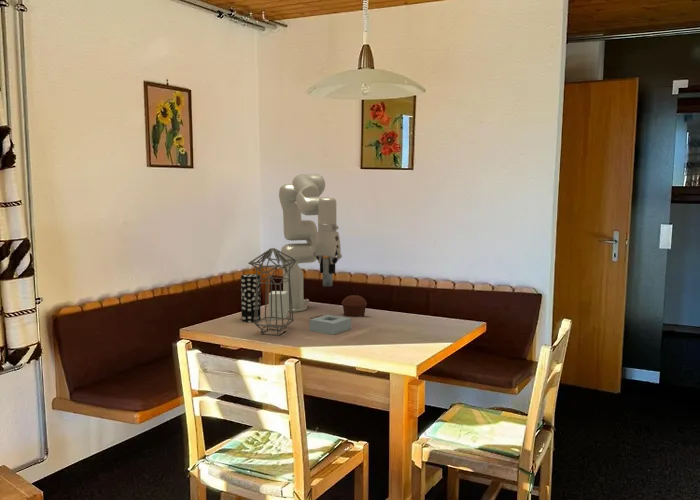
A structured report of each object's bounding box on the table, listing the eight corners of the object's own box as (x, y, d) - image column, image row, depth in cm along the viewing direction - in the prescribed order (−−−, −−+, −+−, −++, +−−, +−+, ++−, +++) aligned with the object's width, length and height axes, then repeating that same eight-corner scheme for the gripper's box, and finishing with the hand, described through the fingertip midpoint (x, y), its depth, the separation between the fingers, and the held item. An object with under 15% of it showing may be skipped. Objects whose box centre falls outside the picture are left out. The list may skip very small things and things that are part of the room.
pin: (326, 284, 268) (326, 250, 267) (334, 285, 266) (334, 251, 264) (320, 285, 265) (320, 251, 263) (328, 286, 262) (328, 252, 261)
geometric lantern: (299, 330, 268) (298, 246, 263) (282, 340, 253) (281, 251, 248) (264, 326, 273) (264, 244, 268) (246, 336, 259) (245, 249, 254)
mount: (322, 323, 281) (322, 313, 281) (337, 325, 277) (337, 316, 276) (308, 327, 273) (308, 318, 273) (323, 329, 269) (323, 320, 268)
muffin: (368, 315, 297) (368, 293, 296) (366, 320, 286) (366, 298, 285) (342, 314, 298) (342, 293, 297) (339, 320, 288) (339, 297, 286)
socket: (327, 328, 271) (327, 314, 270) (351, 332, 264) (351, 318, 264) (309, 334, 261) (309, 319, 261) (333, 338, 254) (333, 323, 254)
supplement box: (288, 318, 290) (288, 290, 288) (285, 322, 282) (285, 293, 281) (272, 318, 291) (272, 290, 289) (268, 322, 283) (268, 293, 282)
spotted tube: (259, 322, 282) (258, 277, 280) (240, 322, 282) (239, 276, 280) (262, 318, 291) (261, 274, 288) (243, 318, 291) (242, 274, 288)
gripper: (349, 228, 261) (349, 273, 263) (316, 227, 271) (317, 270, 272) (338, 229, 255) (338, 275, 257) (305, 228, 265) (305, 272, 266)
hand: (327, 272), depth 265 cm, fingers closed on pin, 4 cm apart
